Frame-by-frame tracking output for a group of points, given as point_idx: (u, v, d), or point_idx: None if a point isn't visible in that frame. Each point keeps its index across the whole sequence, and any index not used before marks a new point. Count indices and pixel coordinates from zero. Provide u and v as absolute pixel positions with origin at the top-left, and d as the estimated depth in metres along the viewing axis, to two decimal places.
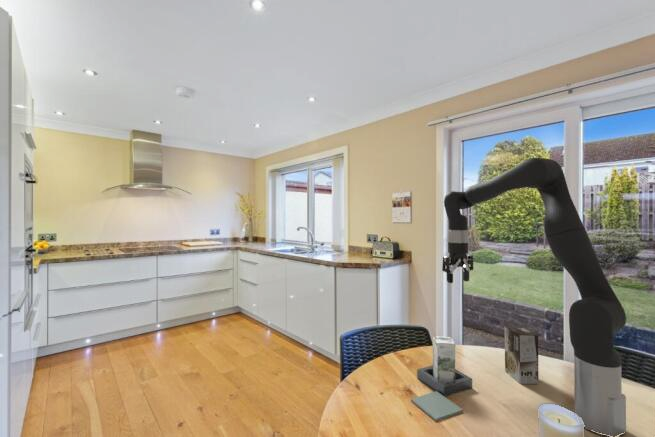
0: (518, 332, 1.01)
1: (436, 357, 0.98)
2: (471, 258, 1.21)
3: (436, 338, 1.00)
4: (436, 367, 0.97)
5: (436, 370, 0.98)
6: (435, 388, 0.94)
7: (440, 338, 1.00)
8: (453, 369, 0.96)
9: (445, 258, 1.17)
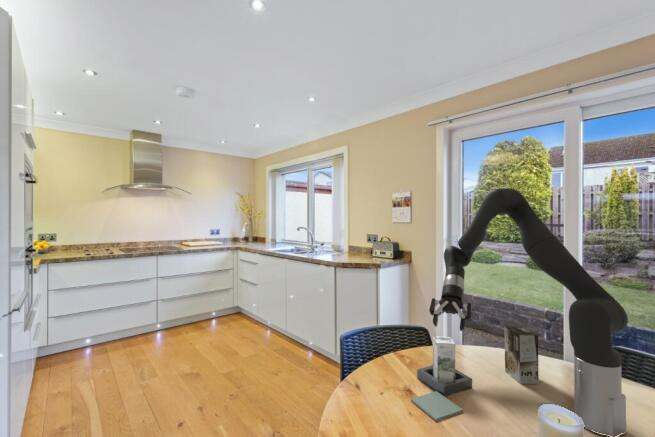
0: (518, 332, 1.01)
1: (436, 357, 0.98)
2: (468, 305, 1.08)
3: (436, 338, 1.00)
4: (436, 367, 0.97)
5: (436, 370, 0.98)
6: (435, 388, 0.94)
7: (440, 338, 1.00)
8: (453, 369, 0.96)
9: None
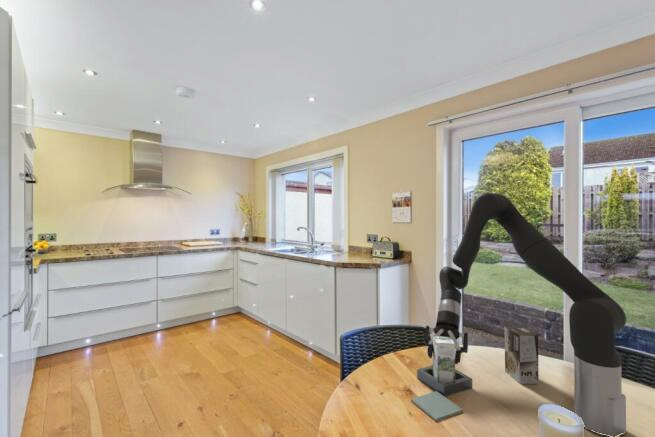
0: (518, 332, 1.01)
1: (436, 357, 0.98)
2: (465, 335, 1.00)
3: (436, 338, 1.00)
4: (436, 367, 0.97)
5: (436, 370, 0.98)
6: (435, 388, 0.94)
7: (440, 338, 1.00)
8: (453, 369, 0.96)
9: None
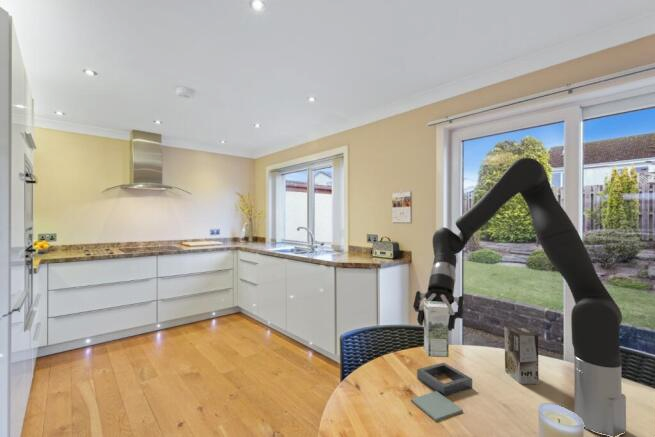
0: (518, 332, 1.01)
1: (427, 323, 0.86)
2: (460, 299, 0.88)
3: (427, 302, 0.88)
4: (427, 335, 0.85)
5: (426, 338, 0.86)
6: (435, 388, 0.94)
7: (431, 302, 0.88)
8: (446, 336, 0.84)
9: None
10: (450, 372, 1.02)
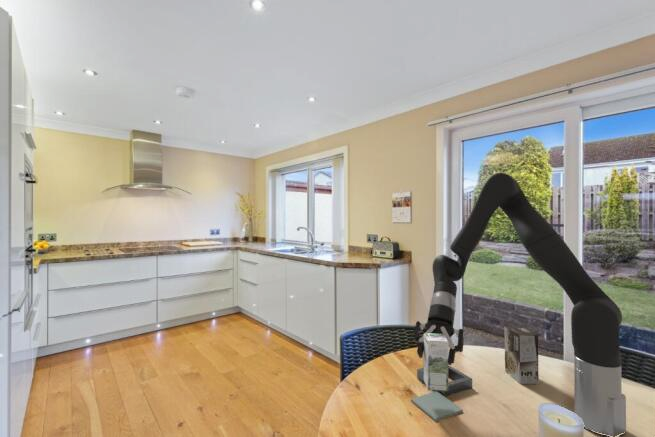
0: (518, 332, 1.01)
1: (427, 357, 0.86)
2: (460, 332, 0.87)
3: (427, 335, 0.88)
4: (427, 368, 0.85)
5: (426, 371, 0.86)
6: None
7: (431, 335, 0.88)
8: (446, 370, 0.84)
9: None
10: (450, 372, 1.02)
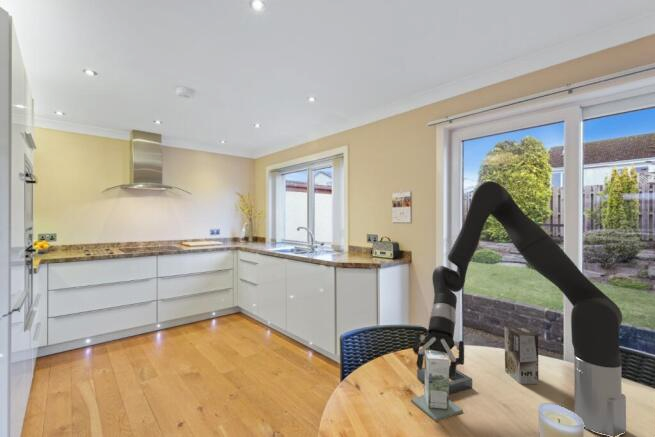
0: (518, 332, 1.01)
1: (427, 374, 0.86)
2: (460, 344, 0.87)
3: (428, 352, 0.88)
4: (427, 386, 0.85)
5: (427, 389, 0.86)
6: None
7: (432, 352, 0.88)
8: (446, 389, 0.84)
9: None
10: None
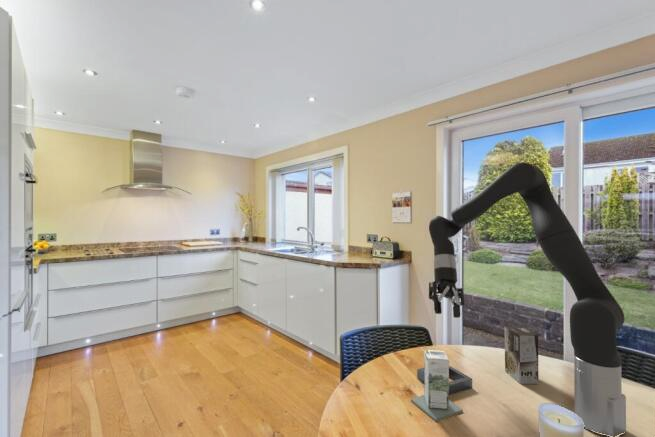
0: (518, 332, 1.01)
1: (427, 374, 0.86)
2: (461, 291, 1.06)
3: (427, 352, 0.88)
4: (427, 386, 0.85)
5: (427, 389, 0.86)
6: None
7: (432, 352, 0.88)
8: (446, 389, 0.84)
9: (431, 283, 1.03)
10: (450, 372, 1.02)
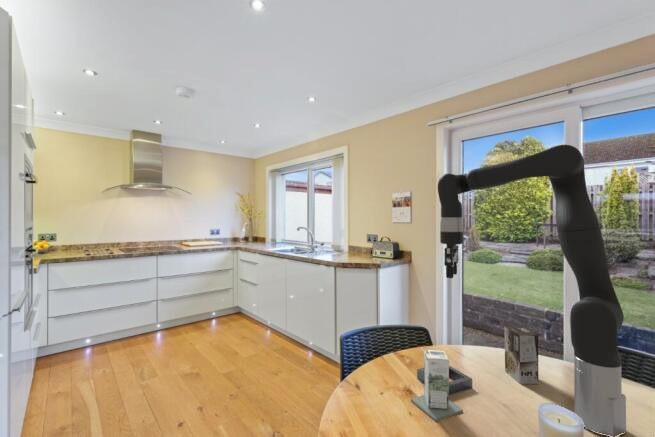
0: (518, 332, 1.01)
1: (427, 374, 0.86)
2: (457, 248, 1.11)
3: (427, 352, 0.88)
4: (427, 386, 0.85)
5: (427, 389, 0.86)
6: None
7: (432, 352, 0.88)
8: (446, 388, 0.84)
9: (448, 250, 1.01)
10: (450, 372, 1.02)
